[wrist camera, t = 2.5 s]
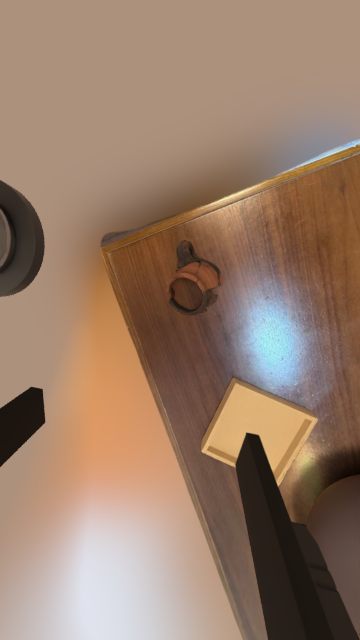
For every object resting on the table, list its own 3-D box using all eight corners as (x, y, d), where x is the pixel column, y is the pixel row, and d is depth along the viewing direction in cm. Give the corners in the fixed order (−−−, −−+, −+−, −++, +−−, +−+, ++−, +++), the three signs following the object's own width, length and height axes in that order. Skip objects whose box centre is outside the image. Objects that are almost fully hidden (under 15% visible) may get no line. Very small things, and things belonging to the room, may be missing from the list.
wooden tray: (201, 441, 36) (201, 452, 34) (233, 376, 34) (235, 383, 32) (272, 474, 36) (277, 487, 33) (309, 410, 33) (318, 419, 31)
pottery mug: (232, 294, 33) (221, 314, 26) (189, 305, 38) (172, 324, 32) (211, 228, 29) (192, 233, 23) (167, 250, 34) (142, 259, 28)
